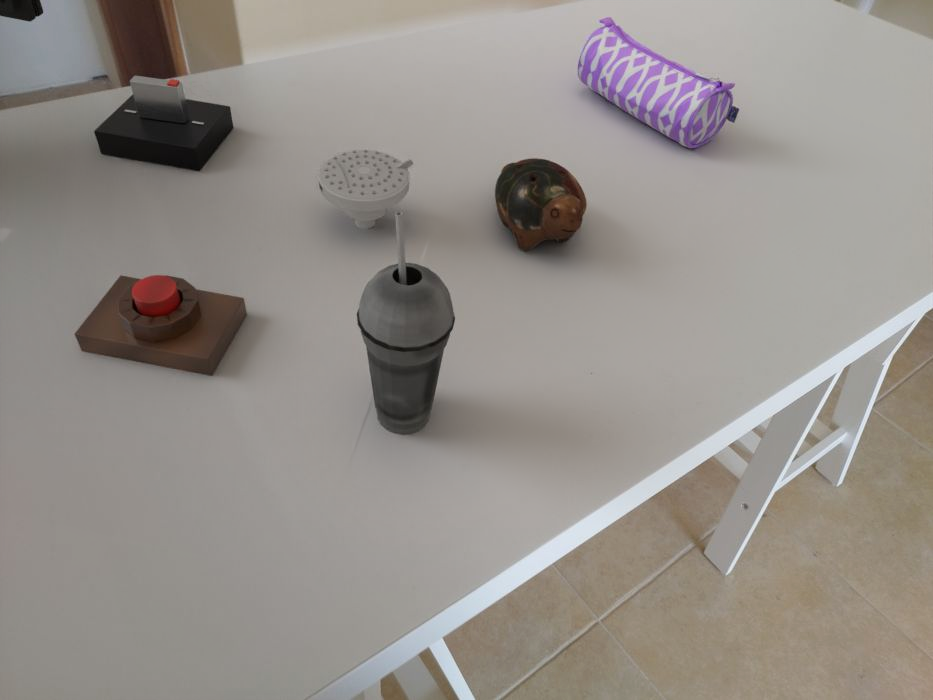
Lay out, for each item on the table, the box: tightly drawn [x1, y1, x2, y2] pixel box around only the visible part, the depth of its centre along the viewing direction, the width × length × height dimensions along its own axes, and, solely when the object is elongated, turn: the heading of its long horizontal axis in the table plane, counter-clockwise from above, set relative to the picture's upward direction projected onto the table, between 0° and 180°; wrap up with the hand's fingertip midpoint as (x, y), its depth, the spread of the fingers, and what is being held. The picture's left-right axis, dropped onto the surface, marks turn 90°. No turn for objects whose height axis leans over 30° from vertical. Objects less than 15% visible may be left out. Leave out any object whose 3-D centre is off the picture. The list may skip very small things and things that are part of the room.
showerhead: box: [317, 149, 414, 230], centre depth 78 cm, size 9×7×10 cm
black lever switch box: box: [93, 94, 235, 172], centre depth 87 cm, size 12×10×3 cm
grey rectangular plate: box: [129, 75, 189, 123], centre depth 85 cm, size 6×1×5 cm, turn 83°
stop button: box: [132, 274, 180, 317], centre depth 64 cm, size 4×4×2 cm
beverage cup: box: [356, 211, 456, 435], centre depth 56 cm, size 7×7×20 cm
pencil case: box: [577, 16, 740, 149], centre depth 99 cm, size 22×9×10 cm, turn 42°
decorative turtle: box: [494, 158, 588, 252], centre depth 80 cm, size 10×15×8 cm, turn 27°
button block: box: [74, 275, 248, 377], centre depth 66 cm, size 12×8×4 cm, turn 80°
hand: (20, 14), depth 62 cm, fingers closed
